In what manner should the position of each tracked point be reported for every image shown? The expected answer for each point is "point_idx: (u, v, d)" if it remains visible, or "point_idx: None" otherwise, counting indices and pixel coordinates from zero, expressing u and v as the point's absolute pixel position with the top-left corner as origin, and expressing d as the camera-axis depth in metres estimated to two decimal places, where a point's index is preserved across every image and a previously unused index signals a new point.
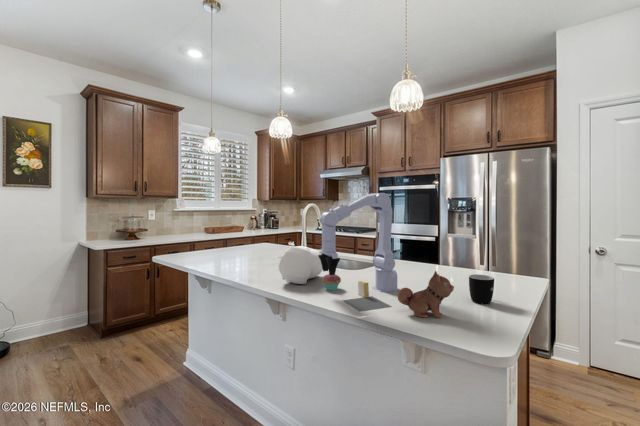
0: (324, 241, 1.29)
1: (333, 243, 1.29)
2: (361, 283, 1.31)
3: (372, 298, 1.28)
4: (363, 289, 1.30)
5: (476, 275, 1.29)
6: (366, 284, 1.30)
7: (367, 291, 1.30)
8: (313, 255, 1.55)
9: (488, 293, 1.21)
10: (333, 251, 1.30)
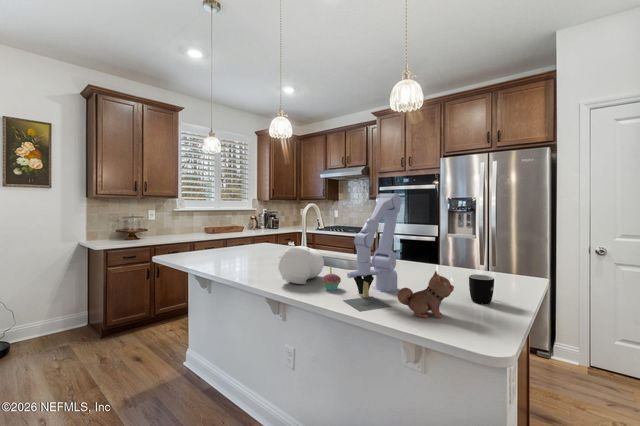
0: None
1: (359, 264, 1.30)
2: None
3: (372, 298, 1.28)
4: (363, 289, 1.30)
5: (476, 275, 1.29)
6: (366, 284, 1.30)
7: (367, 291, 1.30)
8: (313, 255, 1.55)
9: (488, 293, 1.21)
10: (359, 272, 1.30)
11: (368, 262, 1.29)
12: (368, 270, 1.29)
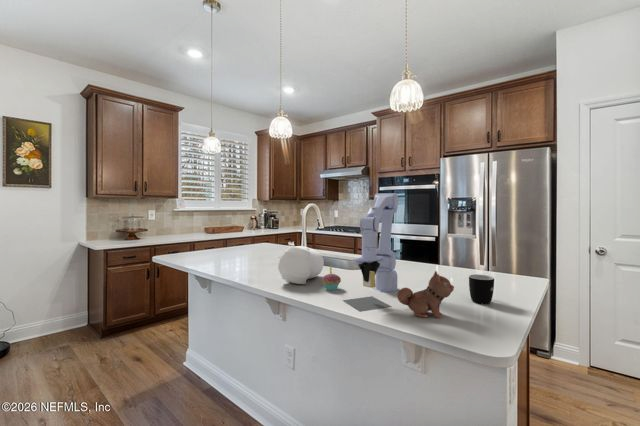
0: None
1: (365, 249, 1.22)
2: None
3: (372, 298, 1.28)
4: (370, 279, 1.23)
5: (476, 275, 1.29)
6: (373, 273, 1.23)
7: (374, 281, 1.23)
8: (313, 255, 1.55)
9: (488, 293, 1.21)
10: (365, 258, 1.22)
11: (375, 247, 1.22)
12: (375, 256, 1.22)
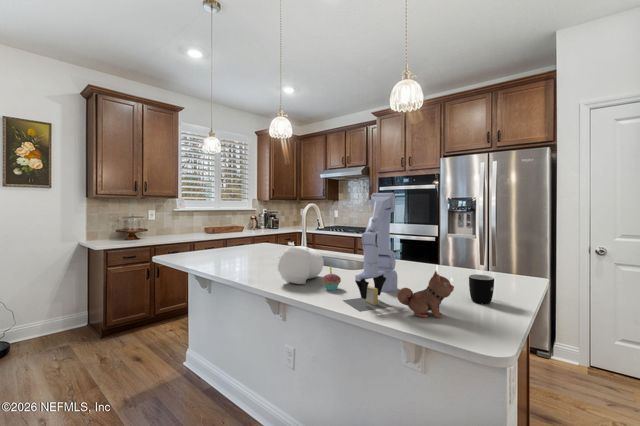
0: None
1: (368, 265, 1.20)
2: (370, 289, 1.22)
3: None
4: (372, 296, 1.21)
5: (476, 275, 1.29)
6: (376, 290, 1.21)
7: (376, 298, 1.21)
8: (312, 255, 1.55)
9: (488, 293, 1.21)
10: (367, 274, 1.20)
11: (377, 263, 1.21)
12: (377, 271, 1.21)
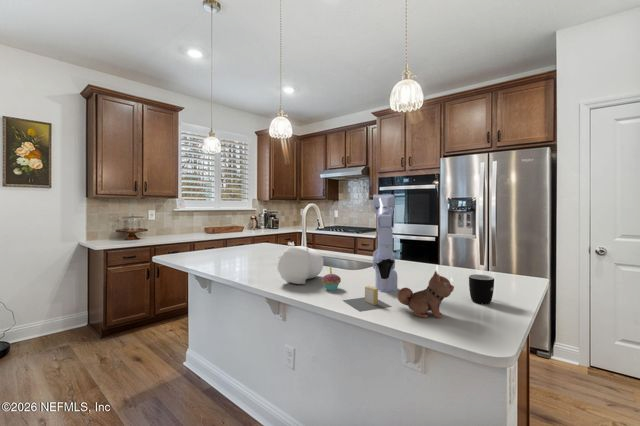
0: None
1: (384, 247, 1.22)
2: (370, 289, 1.22)
3: None
4: (372, 296, 1.21)
5: (476, 275, 1.29)
6: (376, 290, 1.21)
7: (376, 298, 1.21)
8: (312, 255, 1.55)
9: (488, 293, 1.21)
10: (384, 256, 1.22)
11: (392, 245, 1.24)
12: (392, 253, 1.24)
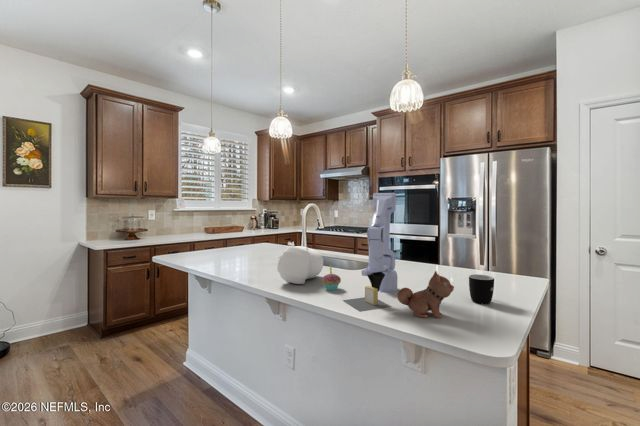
0: None
1: (373, 260, 1.21)
2: (370, 289, 1.22)
3: None
4: (372, 296, 1.21)
5: (476, 275, 1.29)
6: (376, 290, 1.21)
7: (376, 298, 1.21)
8: (312, 255, 1.54)
9: (488, 293, 1.21)
10: (373, 269, 1.21)
11: (382, 257, 1.22)
12: (382, 266, 1.22)
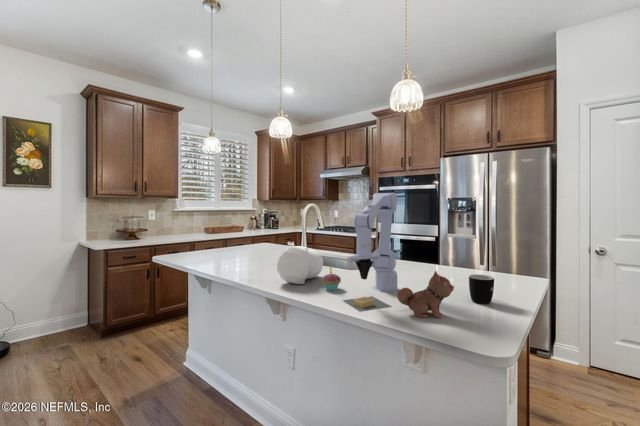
0: None
1: (360, 247, 1.20)
2: None
3: (372, 298, 1.28)
4: None
5: (476, 275, 1.29)
6: (363, 304, 1.17)
7: (369, 302, 1.19)
8: (311, 255, 1.54)
9: (488, 293, 1.21)
10: (360, 255, 1.20)
11: (369, 245, 1.20)
12: (369, 253, 1.21)
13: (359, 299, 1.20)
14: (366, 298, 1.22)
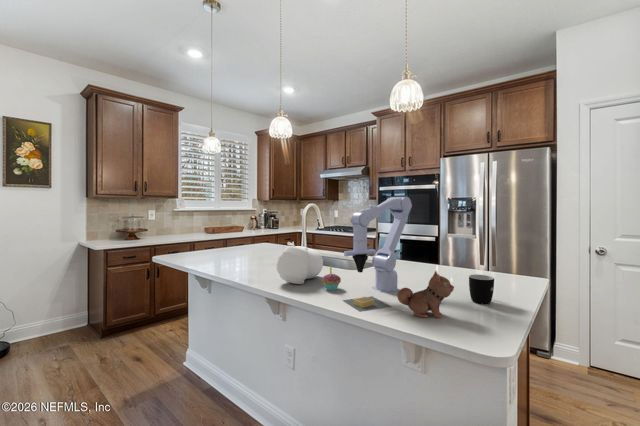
0: None
1: (356, 243, 1.32)
2: None
3: (372, 298, 1.28)
4: None
5: (476, 275, 1.29)
6: (363, 304, 1.17)
7: (369, 302, 1.19)
8: (311, 255, 1.54)
9: (488, 293, 1.21)
10: (355, 250, 1.32)
11: (364, 241, 1.32)
12: (364, 249, 1.32)
13: (359, 299, 1.20)
14: (366, 298, 1.22)
